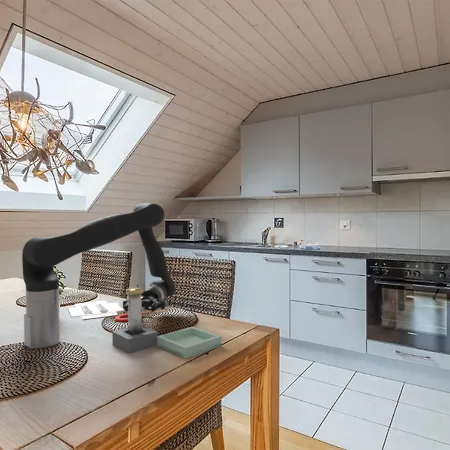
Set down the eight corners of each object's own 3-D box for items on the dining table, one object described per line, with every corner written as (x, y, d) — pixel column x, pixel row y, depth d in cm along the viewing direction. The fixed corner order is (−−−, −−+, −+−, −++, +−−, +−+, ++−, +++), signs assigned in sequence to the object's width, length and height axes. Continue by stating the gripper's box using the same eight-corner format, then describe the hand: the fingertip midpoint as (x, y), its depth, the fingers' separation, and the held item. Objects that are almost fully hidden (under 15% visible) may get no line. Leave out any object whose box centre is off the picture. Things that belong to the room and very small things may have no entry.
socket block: (129, 353, 105) (128, 339, 105) (112, 344, 112) (112, 331, 112) (157, 344, 112) (157, 331, 112) (140, 336, 119) (140, 324, 119)
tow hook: (111, 323, 136) (137, 322, 135) (109, 286, 136) (135, 285, 135) (119, 316, 145) (144, 315, 144) (118, 282, 145) (142, 281, 144)
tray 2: (73, 323, 137) (73, 313, 137) (66, 309, 161) (66, 301, 161) (127, 315, 147) (127, 306, 147) (113, 304, 171) (112, 296, 171)
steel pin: (132, 348, 108) (131, 291, 108) (123, 344, 112) (122, 289, 111) (147, 344, 112) (146, 289, 111) (138, 340, 115) (137, 287, 115)
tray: (185, 358, 100) (185, 348, 100) (157, 346, 110) (156, 336, 110) (221, 346, 110) (221, 336, 110) (192, 335, 120) (192, 326, 120)
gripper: (133, 287, 133) (117, 296, 116) (171, 287, 132) (160, 297, 116) (133, 307, 133) (117, 319, 117) (171, 307, 132) (161, 320, 116)
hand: (139, 308), depth 116 cm, fingers open, 8 cm apart
